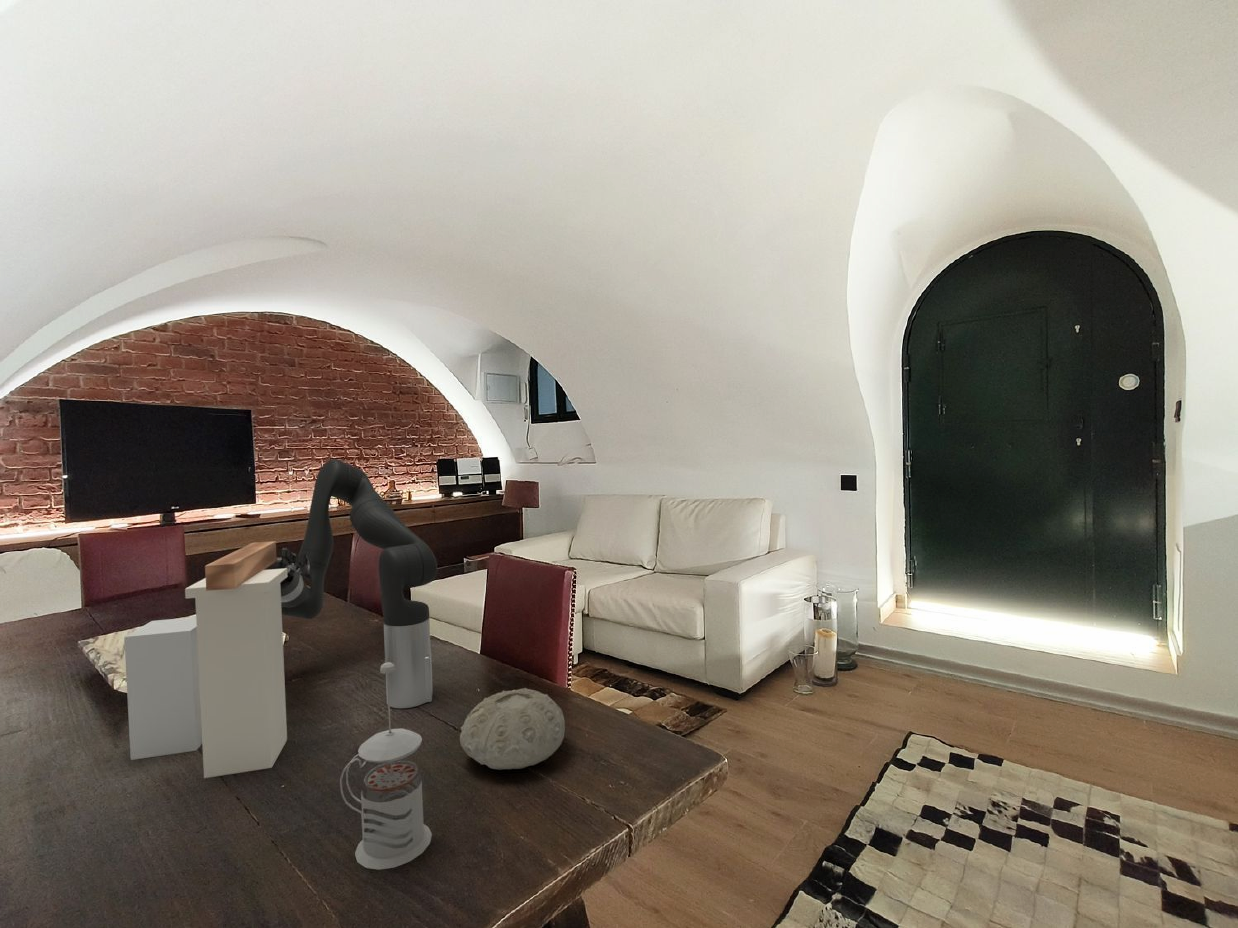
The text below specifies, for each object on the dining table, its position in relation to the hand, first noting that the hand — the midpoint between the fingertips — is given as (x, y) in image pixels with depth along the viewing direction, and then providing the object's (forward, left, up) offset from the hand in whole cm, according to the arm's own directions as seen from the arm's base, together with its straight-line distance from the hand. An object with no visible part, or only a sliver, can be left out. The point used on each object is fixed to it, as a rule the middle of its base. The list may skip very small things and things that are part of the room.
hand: (259, 554), depth 114 cm
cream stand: (0, +11, -34) cm, 36 cm away
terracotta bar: (0, +8, -2) cm, 8 cm away
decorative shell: (-45, +25, -34) cm, 62 cm away
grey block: (+15, 0, -34) cm, 37 cm away
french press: (-26, +43, -34) cm, 61 cm away
